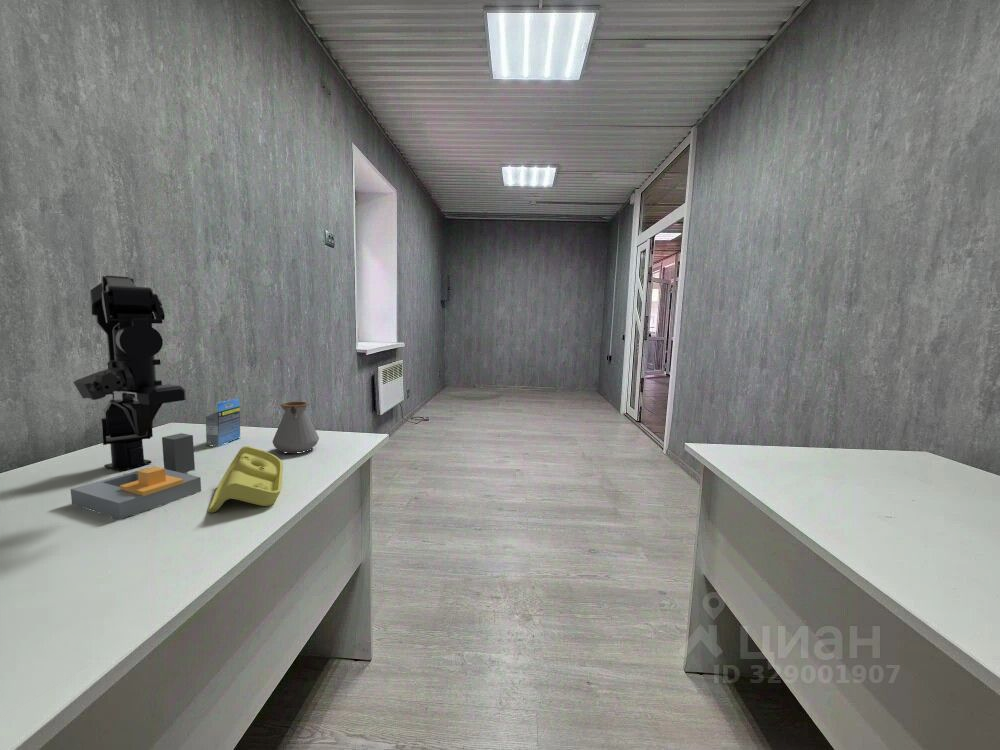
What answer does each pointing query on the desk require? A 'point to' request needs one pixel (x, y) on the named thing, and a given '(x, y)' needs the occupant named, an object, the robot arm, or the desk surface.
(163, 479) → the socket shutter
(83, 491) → the socket board
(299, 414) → the coffee pot
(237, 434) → the label tape box
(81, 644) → the desk surface
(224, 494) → the plastic component
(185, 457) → the grey box
